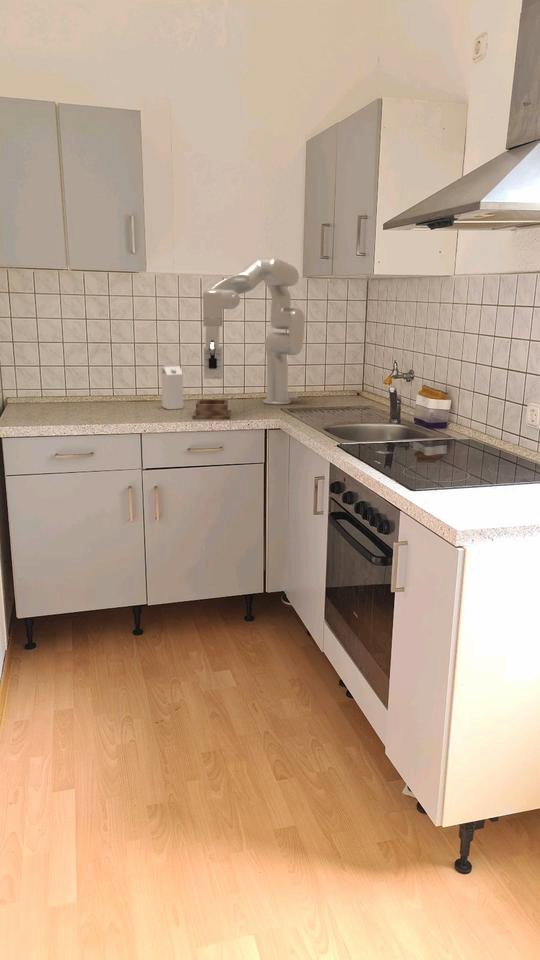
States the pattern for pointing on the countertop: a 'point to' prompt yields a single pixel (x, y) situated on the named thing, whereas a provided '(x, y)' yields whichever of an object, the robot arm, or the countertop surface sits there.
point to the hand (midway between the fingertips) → (213, 367)
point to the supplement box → (218, 371)
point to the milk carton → (172, 386)
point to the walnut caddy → (212, 409)
